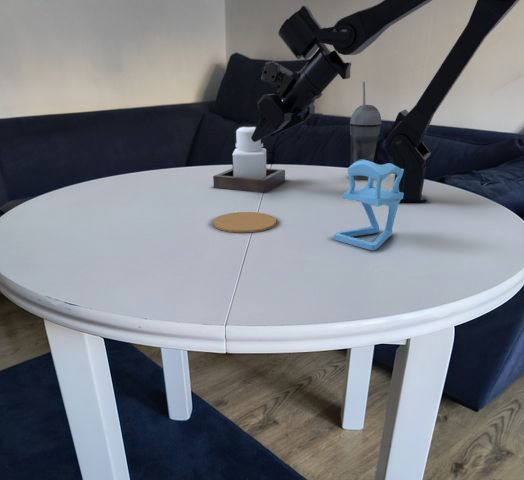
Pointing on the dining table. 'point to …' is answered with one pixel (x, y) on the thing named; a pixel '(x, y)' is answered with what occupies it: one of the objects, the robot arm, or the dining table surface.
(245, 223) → the cork coaster
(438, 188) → the dining table surface
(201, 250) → the dining table surface
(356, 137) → the beverage cup
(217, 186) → the bottle holder
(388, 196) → the chair
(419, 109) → the robot arm
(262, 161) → the medicine bottle
